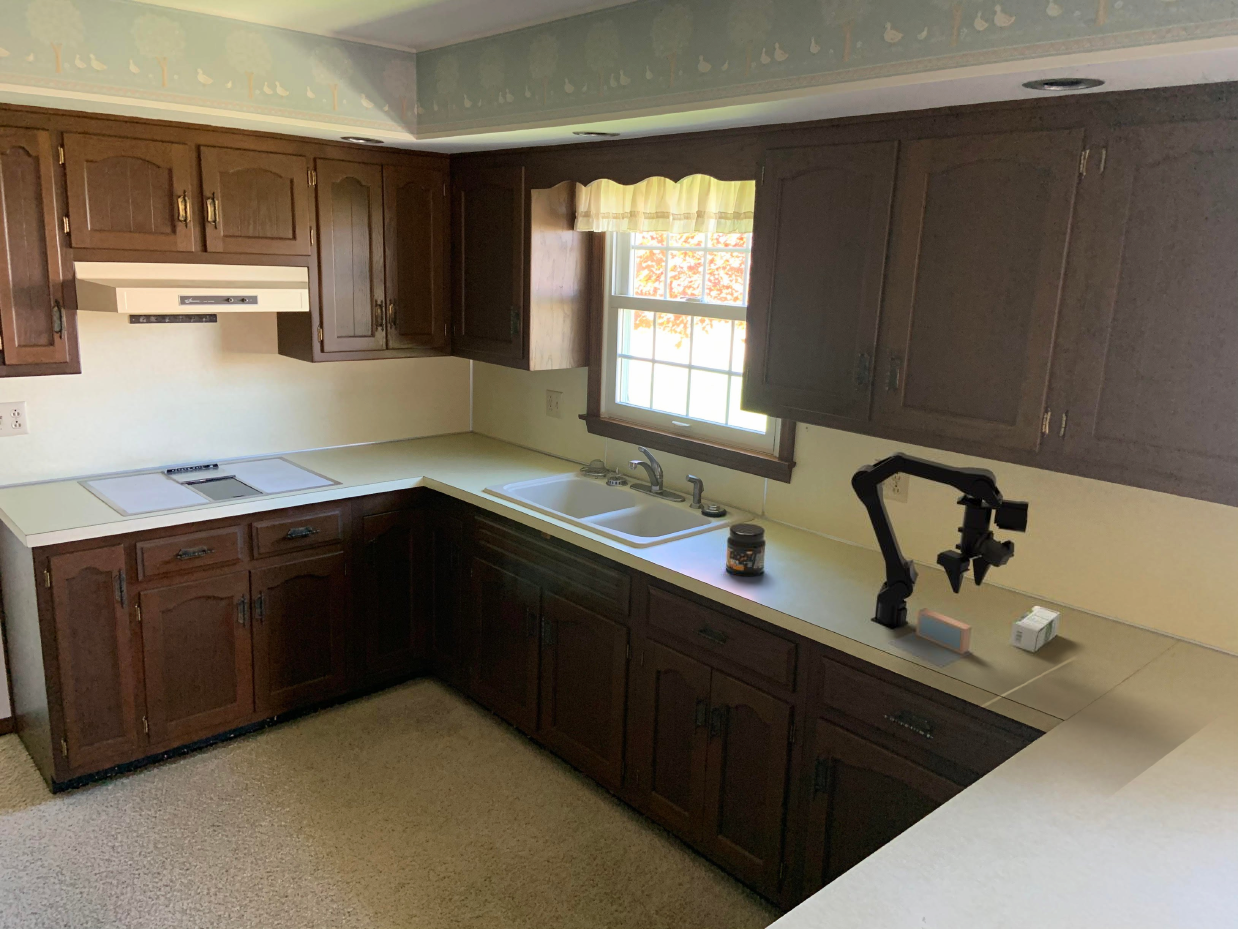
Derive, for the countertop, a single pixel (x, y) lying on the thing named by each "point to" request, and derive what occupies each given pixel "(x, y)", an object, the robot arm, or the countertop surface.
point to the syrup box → (1034, 628)
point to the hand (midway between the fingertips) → (966, 589)
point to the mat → (927, 649)
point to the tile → (943, 630)
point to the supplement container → (745, 549)
